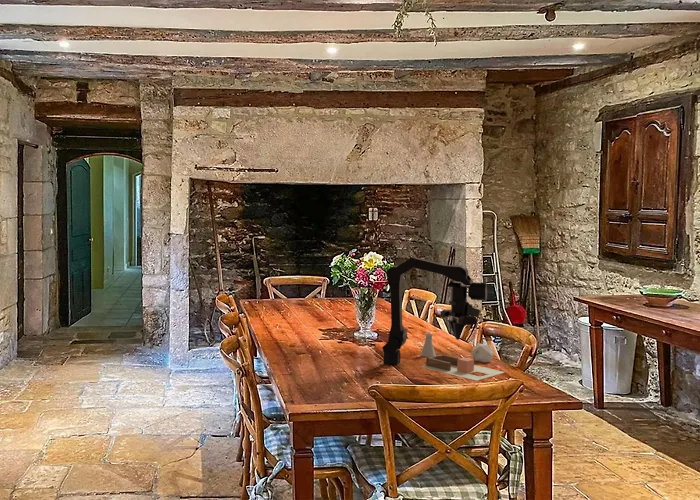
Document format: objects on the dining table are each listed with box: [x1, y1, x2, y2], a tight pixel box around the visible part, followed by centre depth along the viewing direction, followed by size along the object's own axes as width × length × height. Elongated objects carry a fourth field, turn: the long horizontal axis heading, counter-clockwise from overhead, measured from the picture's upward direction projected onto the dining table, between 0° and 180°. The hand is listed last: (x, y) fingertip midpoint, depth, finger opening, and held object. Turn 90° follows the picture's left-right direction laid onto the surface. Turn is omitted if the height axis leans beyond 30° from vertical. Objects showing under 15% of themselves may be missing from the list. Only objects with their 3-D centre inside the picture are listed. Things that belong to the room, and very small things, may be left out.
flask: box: [419, 333, 437, 358], centre depth 292 cm, size 7×7×10 cm
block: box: [457, 357, 475, 374], centre depth 266 cm, size 4×4×4 cm
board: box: [421, 364, 505, 382], centre depth 269 cm, size 19×26×1 cm
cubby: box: [425, 353, 461, 371], centre depth 273 cm, size 10×11×3 cm
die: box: [470, 343, 495, 363], centre depth 285 cm, size 8×9×10 cm
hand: (457, 339), depth 267 cm, fingers closed
